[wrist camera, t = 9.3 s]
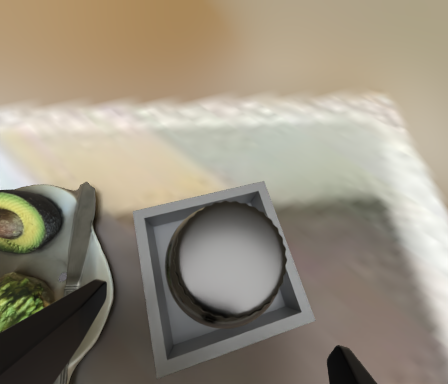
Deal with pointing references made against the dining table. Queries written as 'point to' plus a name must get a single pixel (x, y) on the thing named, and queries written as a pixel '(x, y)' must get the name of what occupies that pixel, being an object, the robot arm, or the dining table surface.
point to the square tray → (180, 322)
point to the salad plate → (49, 255)
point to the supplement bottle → (225, 264)
